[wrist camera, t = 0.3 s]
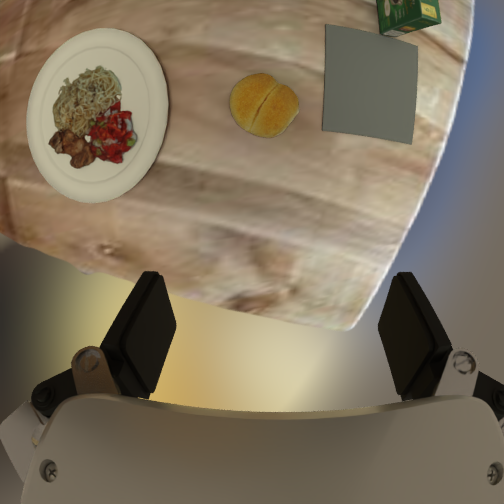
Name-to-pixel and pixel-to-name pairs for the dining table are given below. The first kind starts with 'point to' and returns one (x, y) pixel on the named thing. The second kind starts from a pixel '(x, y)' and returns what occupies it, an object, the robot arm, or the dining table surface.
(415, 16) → the coffee box
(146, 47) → the plated food
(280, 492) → the robot arm
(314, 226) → the dining table surface
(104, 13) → the dining table surface
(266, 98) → the bread roll
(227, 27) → the dining table surface
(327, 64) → the mat
